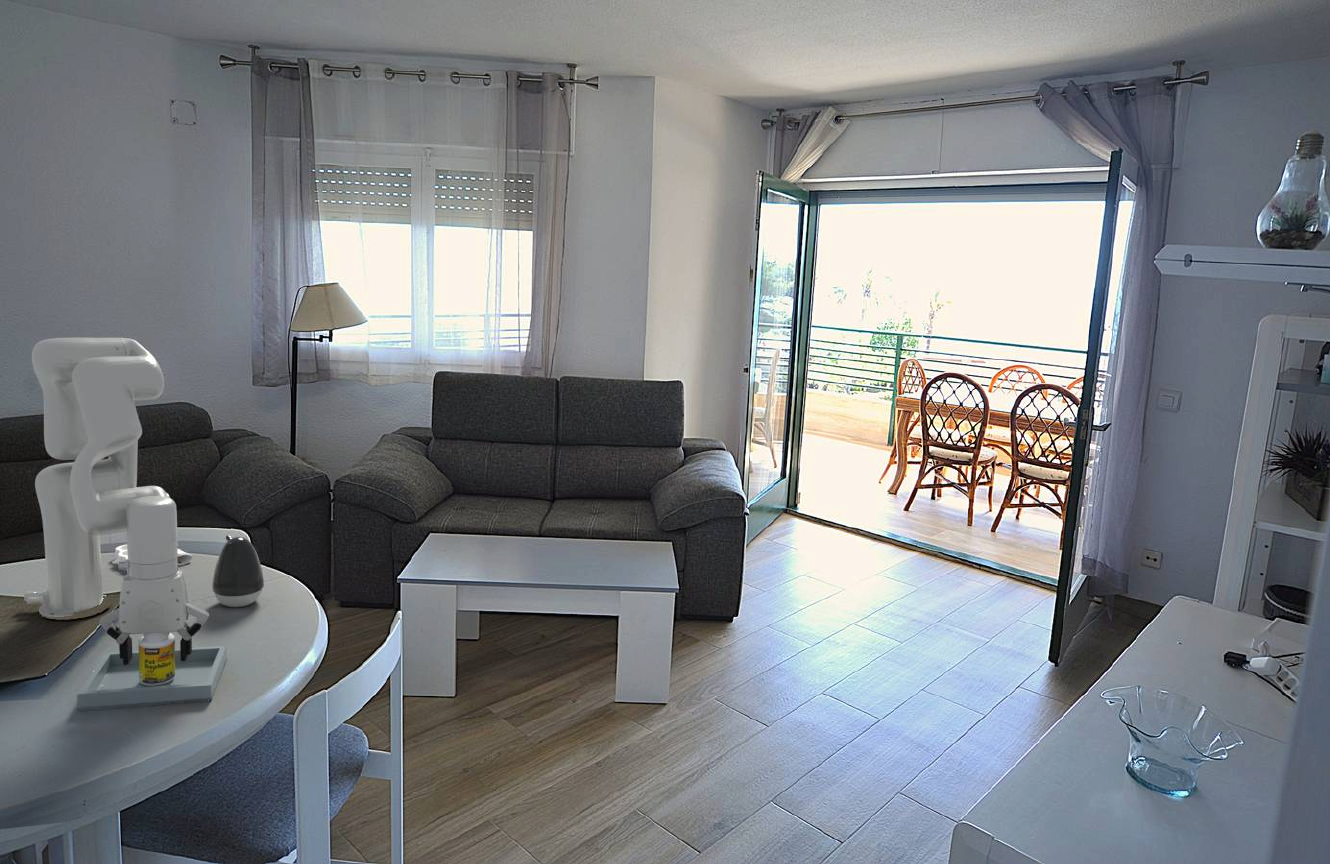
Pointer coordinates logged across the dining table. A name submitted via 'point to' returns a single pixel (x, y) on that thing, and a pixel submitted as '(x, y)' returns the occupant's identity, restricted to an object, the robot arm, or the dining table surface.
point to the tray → (124, 689)
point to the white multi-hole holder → (122, 555)
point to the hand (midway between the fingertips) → (156, 659)
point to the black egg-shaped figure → (237, 573)
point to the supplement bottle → (156, 658)
